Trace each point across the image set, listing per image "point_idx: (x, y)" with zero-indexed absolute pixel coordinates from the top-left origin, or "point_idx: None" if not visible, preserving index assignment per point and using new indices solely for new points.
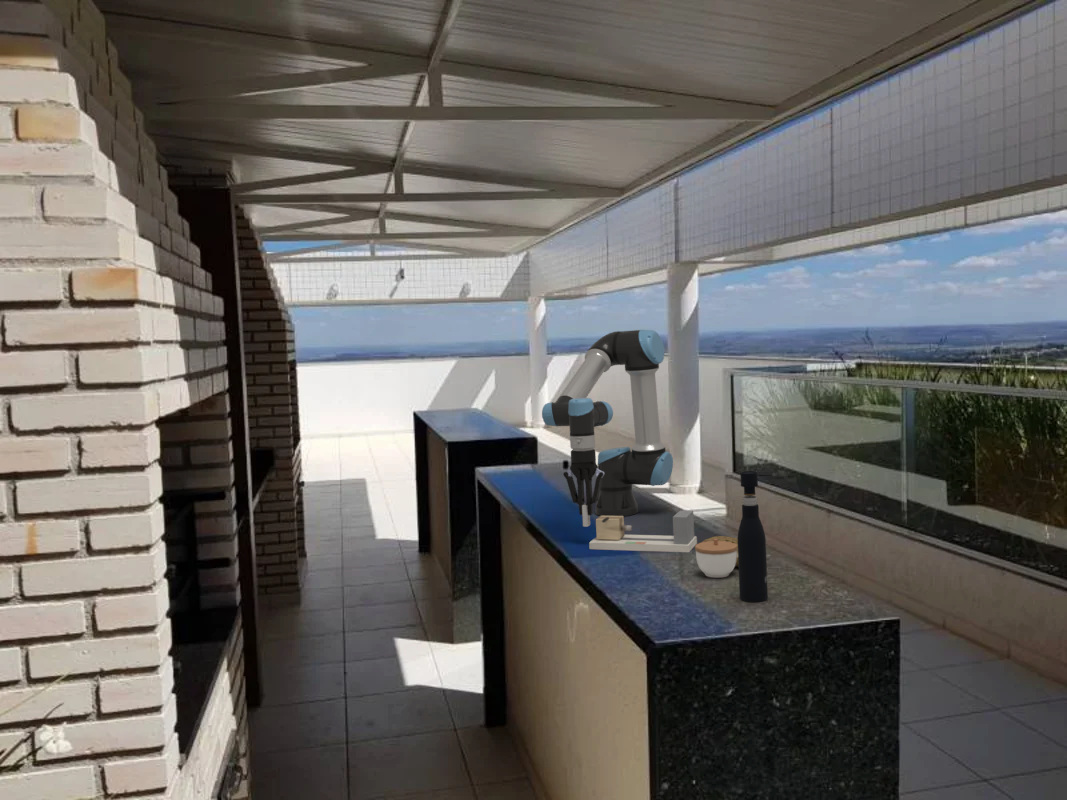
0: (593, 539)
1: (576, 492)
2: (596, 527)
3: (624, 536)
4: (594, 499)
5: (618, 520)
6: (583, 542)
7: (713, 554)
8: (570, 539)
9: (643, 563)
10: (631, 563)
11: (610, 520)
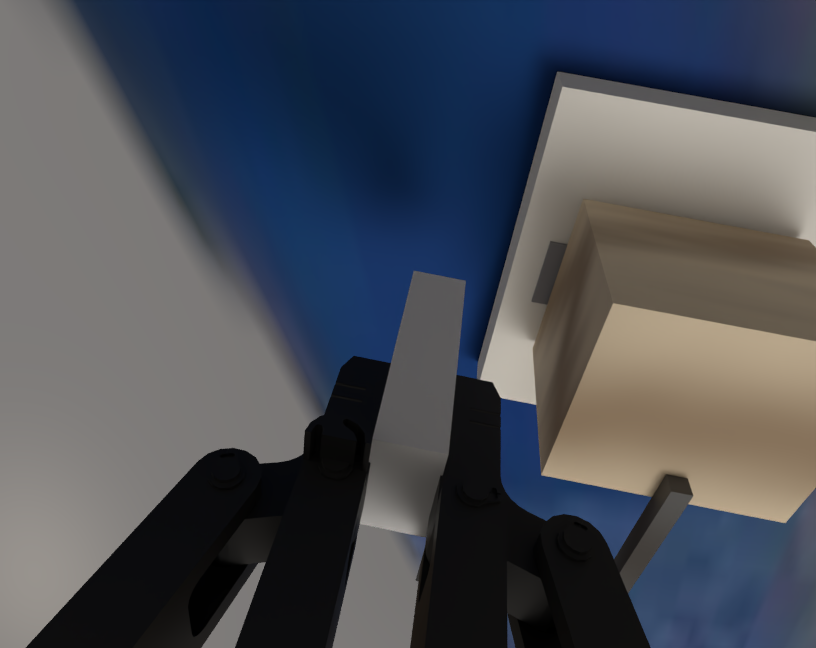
0: (502, 311)
1: (174, 615)
2: (539, 415)
3: (805, 224)
4: (548, 643)
5: (786, 511)
6: (399, 152)
7: None
8: (246, 14)
9: (775, 620)
10: (713, 613)
11: (698, 501)
